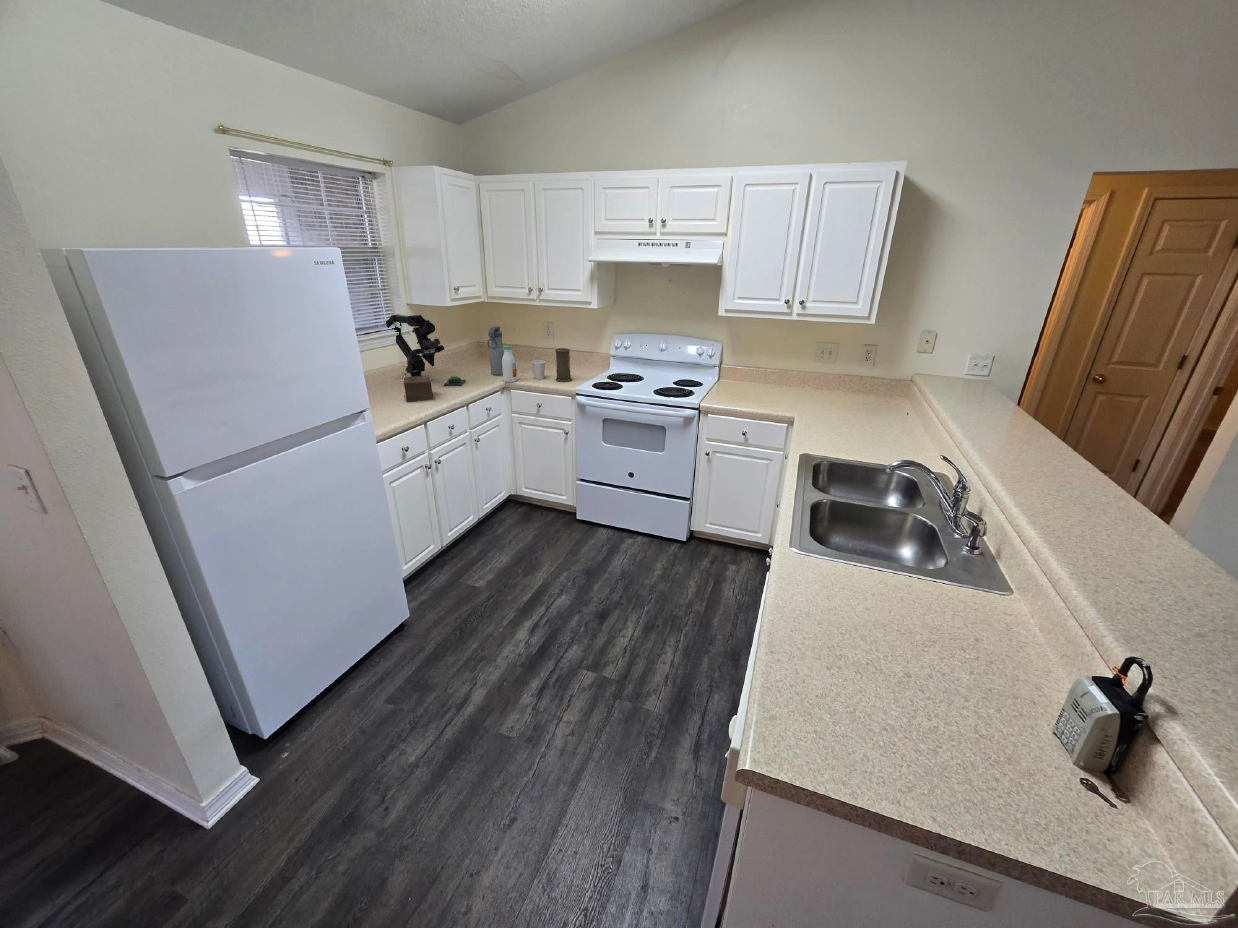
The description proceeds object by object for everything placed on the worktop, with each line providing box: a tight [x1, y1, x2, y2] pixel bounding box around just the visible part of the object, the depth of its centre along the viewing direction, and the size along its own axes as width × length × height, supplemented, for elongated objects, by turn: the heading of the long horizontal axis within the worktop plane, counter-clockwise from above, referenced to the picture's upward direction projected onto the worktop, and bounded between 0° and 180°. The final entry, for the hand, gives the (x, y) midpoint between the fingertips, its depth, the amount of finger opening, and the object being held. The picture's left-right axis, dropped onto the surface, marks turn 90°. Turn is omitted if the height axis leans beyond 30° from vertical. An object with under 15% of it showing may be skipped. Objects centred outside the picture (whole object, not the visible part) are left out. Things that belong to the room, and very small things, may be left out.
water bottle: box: [487, 325, 504, 376], centre depth 307 cm, size 10×10×28 cm
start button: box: [450, 375, 459, 379], centre depth 288 cm, size 4×4×2 cm
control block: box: [443, 376, 466, 387], centre depth 289 cm, size 11×9×3 cm
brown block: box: [403, 374, 434, 403], centre depth 261 cm, size 14×13×10 cm
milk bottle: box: [502, 345, 518, 383], centre depth 293 cm, size 8×8×20 cm
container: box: [554, 347, 572, 383], centre depth 295 cm, size 9×9×18 cm
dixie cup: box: [530, 359, 547, 380], centre depth 301 cm, size 8×8×10 cm
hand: (433, 366), depth 277 cm, fingers closed
